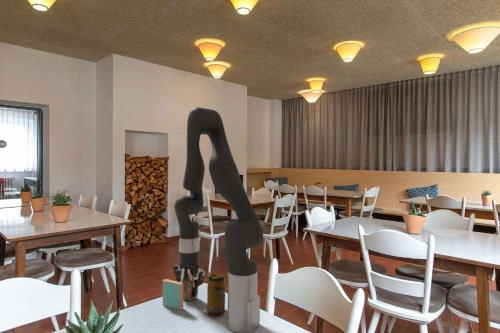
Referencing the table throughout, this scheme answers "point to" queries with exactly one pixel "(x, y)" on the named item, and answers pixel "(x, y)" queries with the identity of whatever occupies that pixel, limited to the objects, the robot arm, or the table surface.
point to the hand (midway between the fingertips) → (189, 295)
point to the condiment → (216, 297)
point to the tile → (173, 294)
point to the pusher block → (187, 289)
